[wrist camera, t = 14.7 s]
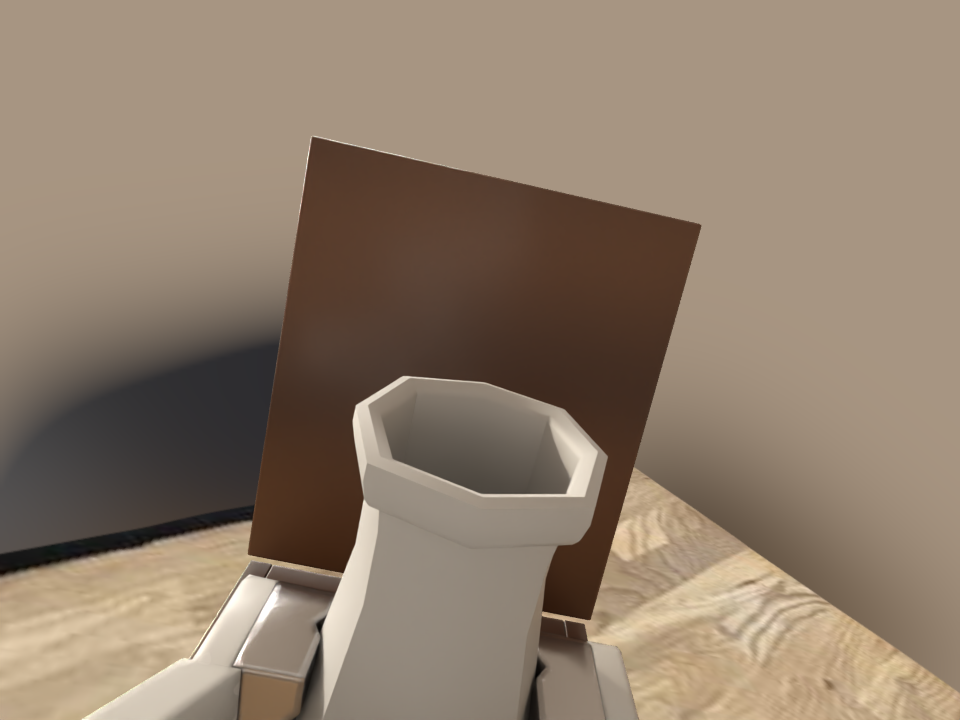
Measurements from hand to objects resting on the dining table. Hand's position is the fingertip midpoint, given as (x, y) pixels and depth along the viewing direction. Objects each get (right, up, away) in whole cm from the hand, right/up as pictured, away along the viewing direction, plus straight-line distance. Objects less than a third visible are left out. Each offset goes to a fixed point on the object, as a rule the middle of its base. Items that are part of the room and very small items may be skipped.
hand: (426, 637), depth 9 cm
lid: (0, +3, +9) cm, 10 cm away
